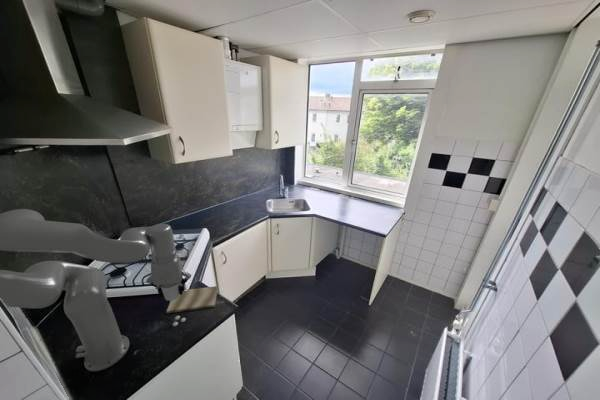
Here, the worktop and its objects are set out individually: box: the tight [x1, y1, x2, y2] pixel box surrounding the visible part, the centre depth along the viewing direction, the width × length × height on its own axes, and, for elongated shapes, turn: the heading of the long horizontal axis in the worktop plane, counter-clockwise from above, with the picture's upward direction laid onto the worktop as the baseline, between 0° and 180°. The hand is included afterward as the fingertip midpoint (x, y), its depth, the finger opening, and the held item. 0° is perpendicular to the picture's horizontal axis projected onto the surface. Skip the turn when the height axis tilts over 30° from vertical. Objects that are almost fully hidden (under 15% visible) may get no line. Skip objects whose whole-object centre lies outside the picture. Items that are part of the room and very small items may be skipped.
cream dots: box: [172, 315, 187, 327], centre depth 95 cm, size 5×5×1 cm
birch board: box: [166, 285, 219, 314], centre depth 105 cm, size 20×12×1 cm, turn 103°
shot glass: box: [160, 283, 180, 302], centre depth 88 cm, size 7×7×7 cm
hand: (172, 292), depth 89 cm, fingers closed on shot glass, 6 cm apart
